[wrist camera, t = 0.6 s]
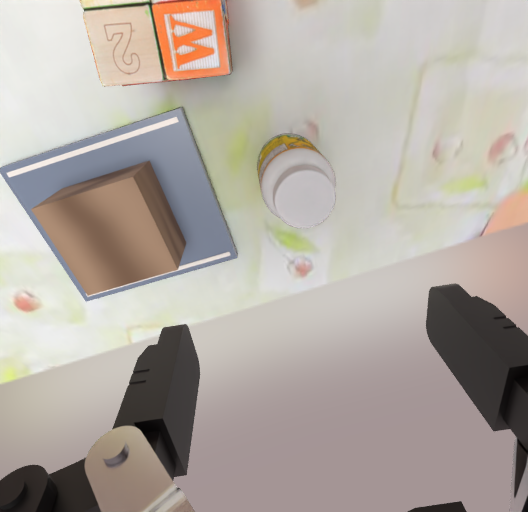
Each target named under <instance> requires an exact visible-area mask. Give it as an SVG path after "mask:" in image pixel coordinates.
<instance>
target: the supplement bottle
mask: <svg viewBox="0 0 528 512" xmlns="http://www.w3.org/2000/svg"><path fill="white" fill-rule="evenodd" d="M257 170H258V177H259V182H260V187H261V192H262V196H263V199H264V202H265V204H266V205H267V207H268V208H269V210H270V211H271V212H272V213H273V214H275V215H276V216H277V217H279V218H281V219H282V220H283V221H284V222H285V223H286V224H288V225H290V226H292V227H296V228H310V227H314V226H316V225H318V224H320V223H321V222H323V221H324V220H325V219H326V218H327V217H328V216H329V215H330V213H331V212H332V210H333V208H334V205H335V200H336V194H335V186H336V181H335V175H334V171H333V169H332V167H331V165H330V163H329V162H328V161H327V159H326V158H325V157H324V156H323V155H322V154H321V153H320V152H319V151H318V150H317V149H316V148H315V147H314V146H313V145H312V144H311V143H310V142H309V141H308V140H307V139H305V138H304V137H302V136H299V135H295V134H281V135H278V136H276V137H274V138H272V139H271V140H269V141H268V142H267V143H266V144H265V145H264V147H263V148H262V150H261V152H260V154H259V157H258V162H257Z"/></svg>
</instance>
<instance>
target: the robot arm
mask: <svg viewBox="0 0 528 512" xmlns="http://www.w3.org/2000/svg"><path fill="white" fill-rule="evenodd" d="M426 329H427V334H428V337H429V339H430V342H431V343H432V345H433V346H434V348H435V349H436V350H437V352H438V353H439V355H440V356H441V358H442V359H443V360H444V362H445V363H446V365H447V366H448V367H449V369H450V370H451V372H452V373H453V375H454V376H455V377H456V379H457V380H458V382H459V383H460V384H461V386H462V387H463V389H464V390H465V392H466V393H467V394H468V396H469V397H470V399H471V400H472V401H473V403H474V404H475V406H476V407H477V409H478V410H479V411H480V413H481V414H482V416H483V417H484V418H485V420H486V421H487V422H488V424H489V425H490V427H491V428H492V430H493V431H498V430H505V429H511V430H512V432H513V433H514V434H515V436H516V439H515V442H514V454H513V468H512V483H511V498H510V509H509V512H528V336H527V335H526V334H525V333H524V332H523V331H522V330H521V329H520V328H517V327H516V325H515V324H514V323H513V322H512V321H511V320H510V319H509V318H506V316H505V315H504V314H503V313H502V312H501V311H500V310H499V309H498V308H497V307H496V306H494V305H493V304H491V303H489V302H487V301H485V300H483V299H481V298H479V297H477V296H475V297H471V296H470V295H469V294H468V293H467V292H466V291H465V290H464V289H463V288H462V287H461V286H459V285H458V284H449V285H442V286H436V287H431V289H430V291H429V298H428V309H427V320H426ZM199 379H200V367H199V361H198V357H197V353H196V350H195V347H194V344H193V340H192V338H191V334H190V331H189V328H188V326H187V325H186V324H184V325H177V326H171V327H164V328H163V329H162V331H161V334H160V337H159V341H158V344H156V345H150V346H148V347H147V348H146V349H145V350H144V352H143V353H142V354H141V355H140V356H139V358H138V360H137V362H136V365H135V368H134V371H133V374H132V376H131V379H130V382H129V386H128V388H127V390H126V393H125V396H124V398H123V401H122V404H121V407H120V410H119V413H118V416H117V418H116V421H115V424H114V426H113V429H112V430H111V431H109V432H107V433H106V434H104V435H103V436H102V437H100V438H99V439H98V440H97V441H96V442H95V444H94V445H93V446H92V447H91V449H90V450H89V452H88V454H87V457H86V458H84V459H82V460H80V461H78V462H76V463H74V464H72V465H70V466H67V467H65V468H63V469H60V470H58V471H56V472H54V473H52V474H48V473H47V472H46V470H45V469H44V468H43V467H41V466H39V465H28V466H25V467H22V468H19V469H17V470H15V471H13V472H11V473H10V474H8V475H7V476H5V477H4V478H3V479H2V480H0V512H195V511H194V509H193V507H192V506H191V504H190V503H189V501H188V500H187V498H186V497H185V495H184V494H183V492H182V491H181V489H180V488H177V487H176V485H175V484H174V482H173V479H174V477H177V476H184V475H187V468H188V461H189V453H190V446H191V438H192V431H193V423H194V416H195V409H196V401H197V394H198V386H199ZM408 512H466V510H465V508H464V506H463V504H462V502H461V501H460V502H453V503H447V504H439V505H432V506H426V507H419V508H414V509H412V510H410V511H408Z"/></svg>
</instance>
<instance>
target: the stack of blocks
mask: <svg viewBox="0 0 528 512" xmlns="http://www.w3.org/2000/svg"><path fill="white" fill-rule="evenodd" d="M80 3H81V5H82V8H83V9H84V12H83V18H84V22H85V25H86V29H87V33H88V37H89V40H90V44H91V48H92V52H93V55H94V59H95V63H96V67H97V70H98V74H99V78H100V81H101V83H102V85H103V86H104V87H105V86H115V85H122V86H127V85H136V84H145V83H157V82H166V81H175V80H188V79H196V78H204V77H212V76H221V75H230V74H231V73H232V71H233V69H232V59H231V50H230V41H229V31H228V25H229V21H228V12H227V3H226V0H80Z"/></svg>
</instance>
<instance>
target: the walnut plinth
mask: <svg viewBox="0 0 528 512" xmlns="http://www.w3.org/2000/svg"><path fill="white" fill-rule="evenodd" d="M31 210H32V212H33V213H34V215H35V216H36V218H37V219H38V221H39V222H40V224H41V225H42V227H43V228H44V230H45V231H46V233H47V234H48V236H49V238H50V239H51V241H52V242H53V244H54V245H55V247H56V248H57V250H58V251H59V253H60V254H61V256H62V257H63V259H64V260H65V262H66V263H67V265H68V266H69V268H70V270H71V271H72V273H73V274H74V276H75V277H76V279H77V280H78V282H79V283H80V285H81V286H82V288H83V289H84V291H85V292H86V294H87V295H88V296H89V295H93V294H96V293H99V292H103V291H106V290H110V289H113V288H117V287H120V286H124V285H127V284H130V283H134V282H137V281H141V280H144V279H148V278H151V277H155V276H158V275H161V274H165V273H168V272H172V271H175V270H178V268H179V265H180V262H181V258H182V255H183V252H184V249H185V246H186V241H185V239H184V236H183V234H182V232H181V230H180V227H179V225H178V223H177V221H176V219H175V216H174V214H173V212H172V210H171V207H170V205H169V203H168V201H167V199H166V196H165V194H164V192H163V190H162V187H161V185H160V183H159V181H158V179H157V176H156V174H155V172H154V170H153V167H152V165H151V163H150V161H146V162H143V163H140V164H137V165H133V166H130V167H127V168H124V169H121V170H118V171H115V172H112V173H109V174H105V175H102V176H99V177H96V178H93V179H90V180H87V181H84V182H81V183H77V184H74V185H71V186H68V187H65V188H62V189H60V190H59V191H57V192H56V193H54V194H53V195H51V196H50V197H48V198H47V199H45V200H44V201H42V202H41V203H39V204H38V205H36V206H35V207H33V208H32V209H31Z"/></svg>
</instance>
